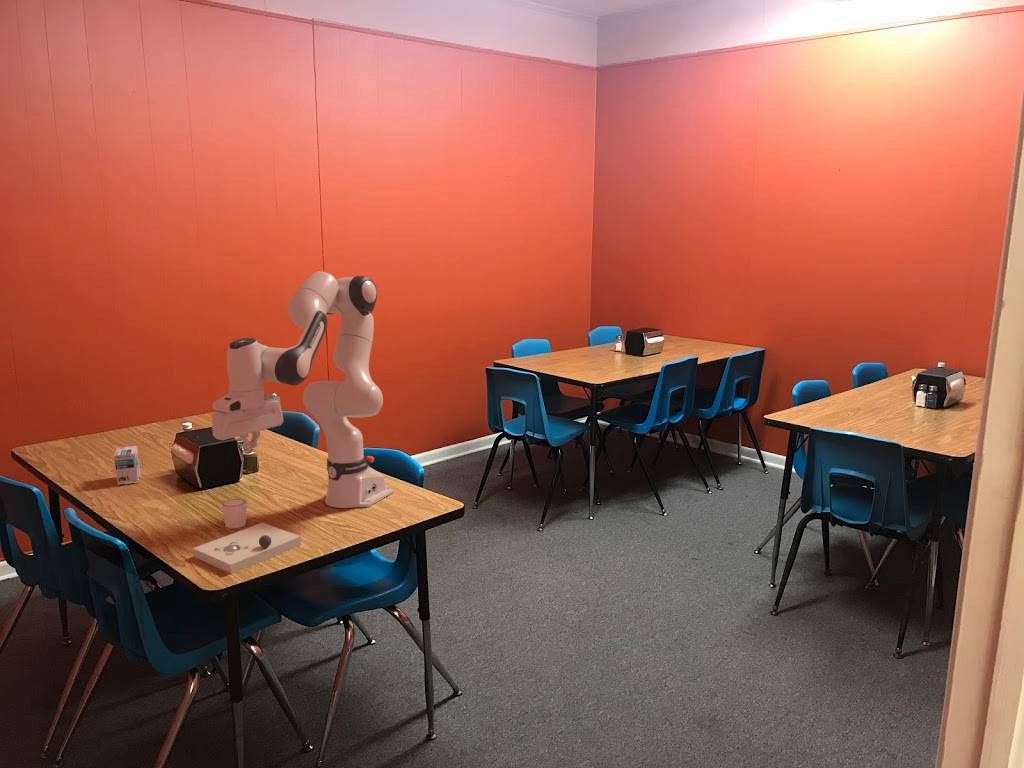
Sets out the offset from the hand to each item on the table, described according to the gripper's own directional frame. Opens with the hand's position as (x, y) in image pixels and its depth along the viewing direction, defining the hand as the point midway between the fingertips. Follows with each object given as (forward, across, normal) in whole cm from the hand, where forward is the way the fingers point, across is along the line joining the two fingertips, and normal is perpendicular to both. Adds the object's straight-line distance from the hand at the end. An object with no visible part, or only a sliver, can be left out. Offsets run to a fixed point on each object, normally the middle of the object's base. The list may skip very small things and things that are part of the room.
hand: (250, 448), depth 212 cm
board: (+27, +6, +4) cm, 28 cm away
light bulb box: (+27, -5, -80) cm, 85 cm away
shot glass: (+27, -3, -15) cm, 31 cm away
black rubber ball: (+23, +5, +10) cm, 26 cm away
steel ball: (+25, +11, +4) cm, 28 cm away
